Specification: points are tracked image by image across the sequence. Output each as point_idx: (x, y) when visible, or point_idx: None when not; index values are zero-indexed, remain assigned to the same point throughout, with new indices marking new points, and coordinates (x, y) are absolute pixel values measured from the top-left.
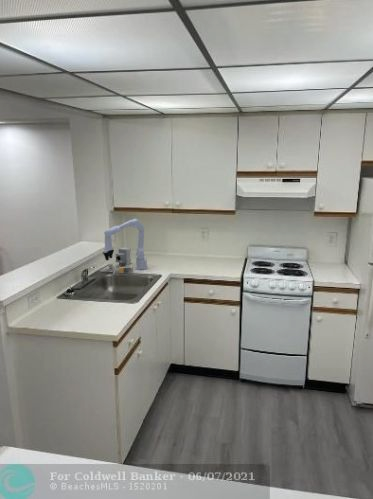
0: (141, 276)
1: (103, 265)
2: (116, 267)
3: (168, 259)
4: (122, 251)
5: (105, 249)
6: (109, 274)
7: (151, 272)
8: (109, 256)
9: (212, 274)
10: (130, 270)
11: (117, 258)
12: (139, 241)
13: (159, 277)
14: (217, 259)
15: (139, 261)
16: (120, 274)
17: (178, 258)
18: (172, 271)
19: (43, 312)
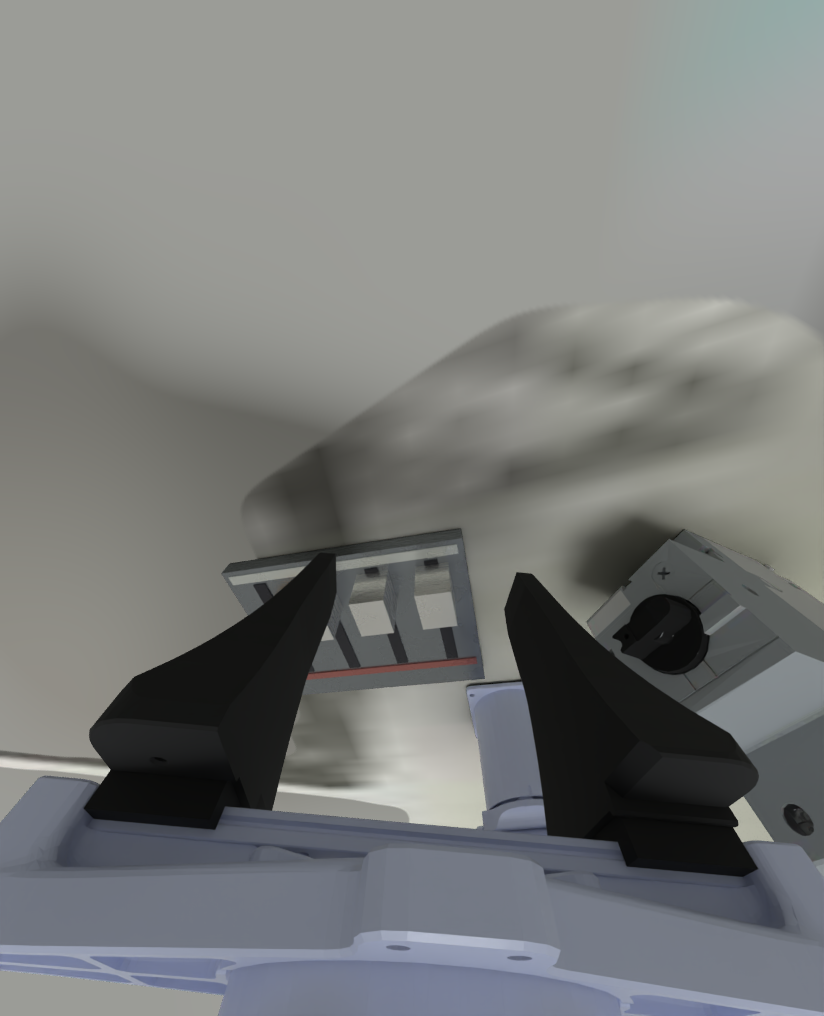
0: (294, 725)
1: (713, 302)
2: (350, 608)
3: (745, 801)
4: (821, 784)
5: (235, 951)
6: (258, 524)
7: (400, 755)
8: (526, 602)
9: None
10: (392, 674)
11: (645, 621)
12: None
13: (307, 783)
14: None
15: (484, 787)
16: None
17: (749, 830)
18: (436, 814)
19: None
